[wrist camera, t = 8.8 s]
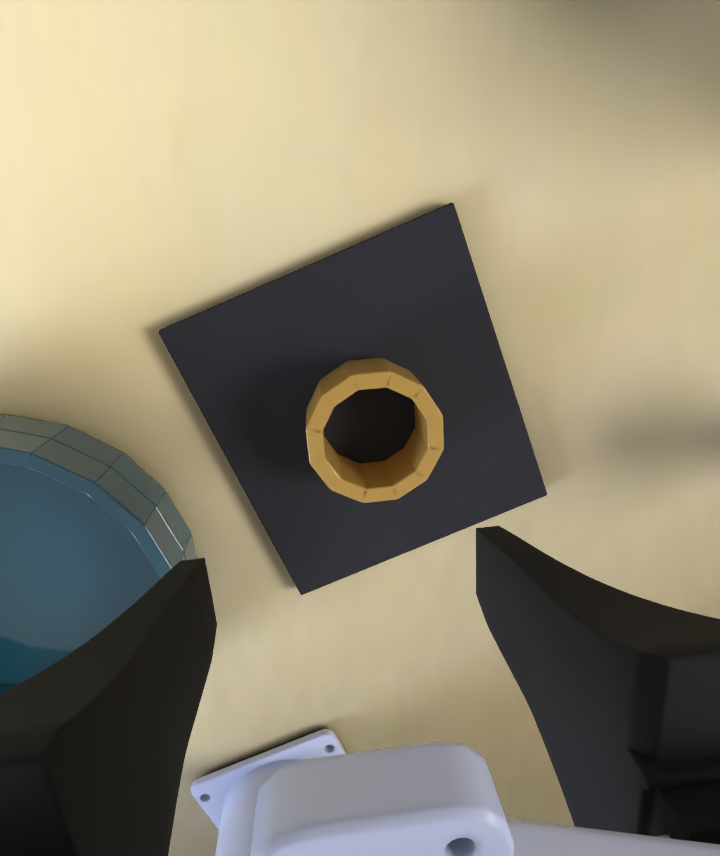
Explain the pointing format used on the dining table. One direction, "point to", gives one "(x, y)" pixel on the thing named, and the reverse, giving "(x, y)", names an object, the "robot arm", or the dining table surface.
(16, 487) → the bowl
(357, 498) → the napkin ring
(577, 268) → the dining table surface
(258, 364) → the coaster
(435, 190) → the dining table surface
